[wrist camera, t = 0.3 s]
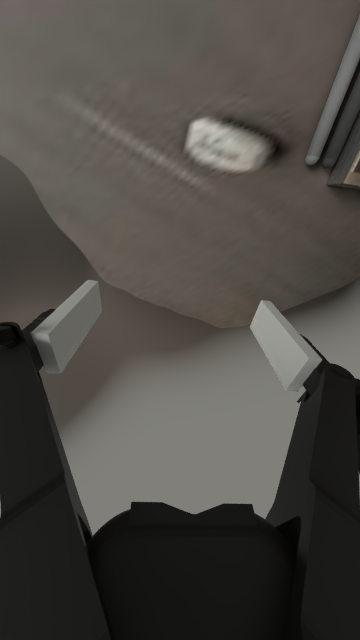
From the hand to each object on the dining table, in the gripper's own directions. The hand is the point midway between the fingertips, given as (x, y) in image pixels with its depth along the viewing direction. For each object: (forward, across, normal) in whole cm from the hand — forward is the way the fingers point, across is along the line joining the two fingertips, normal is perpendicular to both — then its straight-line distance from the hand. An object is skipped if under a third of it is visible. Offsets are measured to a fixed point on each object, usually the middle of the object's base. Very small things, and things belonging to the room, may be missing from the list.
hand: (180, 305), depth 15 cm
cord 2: (+28, +23, +23) cm, 43 cm away
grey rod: (+28, +20, +23) cm, 41 cm away
